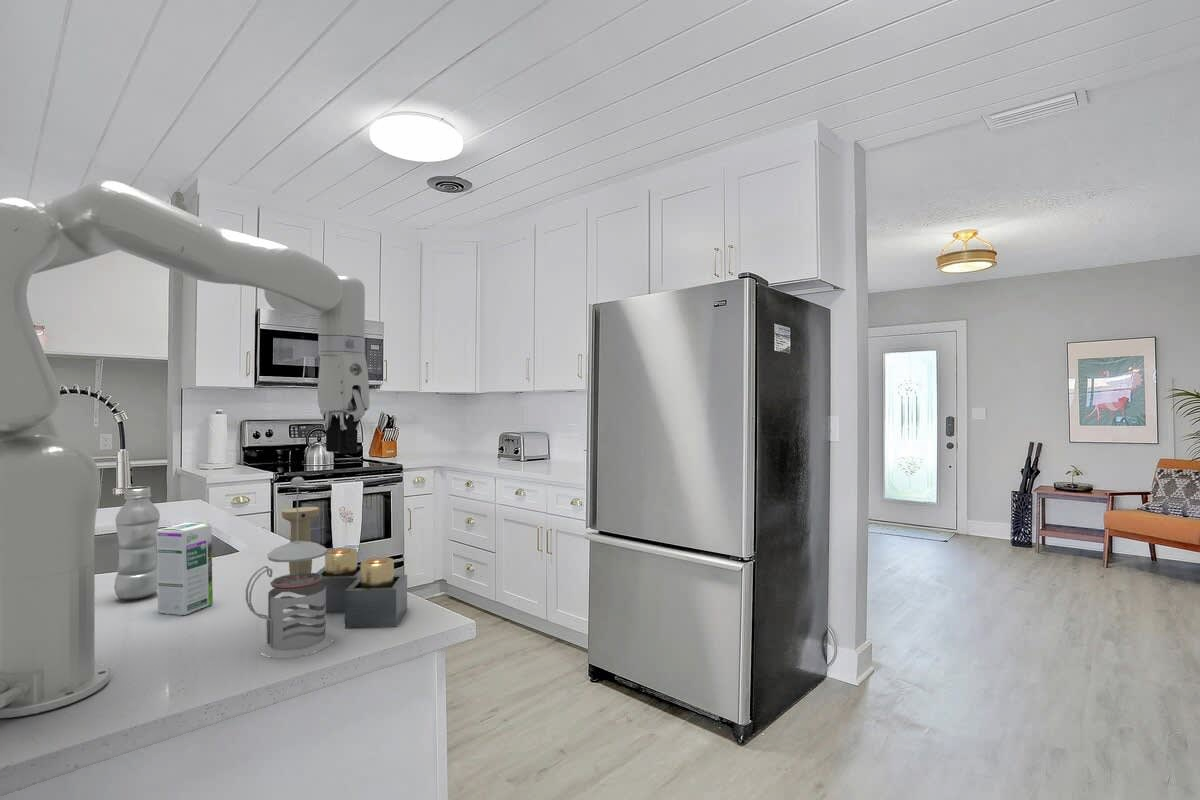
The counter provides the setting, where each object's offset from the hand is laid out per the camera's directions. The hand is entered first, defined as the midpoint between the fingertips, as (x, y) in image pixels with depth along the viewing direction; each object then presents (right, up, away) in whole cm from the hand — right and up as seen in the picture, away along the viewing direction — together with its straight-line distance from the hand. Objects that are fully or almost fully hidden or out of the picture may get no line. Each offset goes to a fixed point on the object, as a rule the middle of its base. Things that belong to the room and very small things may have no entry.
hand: (341, 451), depth 108 cm
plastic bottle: (-39, -27, +4) cm, 47 cm away
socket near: (+8, -27, -6) cm, 29 cm away
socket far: (0, -27, 0) cm, 27 cm away
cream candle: (0, -23, 0) cm, 23 cm away
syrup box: (-26, -27, -2) cm, 38 cm away
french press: (0, -28, -17) cm, 33 cm away
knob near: (+8, -23, -6) cm, 26 cm away
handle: (-12, -27, +10) cm, 32 cm away
